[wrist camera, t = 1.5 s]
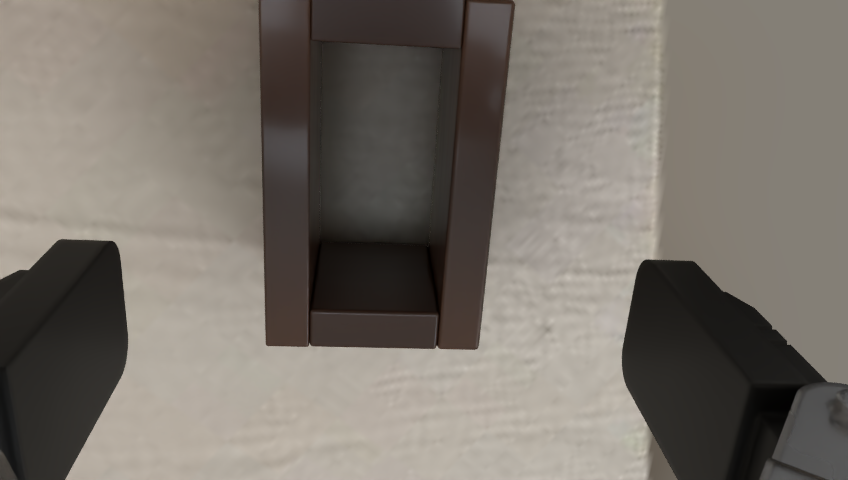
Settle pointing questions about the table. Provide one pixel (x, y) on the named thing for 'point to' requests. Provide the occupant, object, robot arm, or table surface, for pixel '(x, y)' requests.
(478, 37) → the frame
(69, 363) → the robot arm
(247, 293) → the table surface
